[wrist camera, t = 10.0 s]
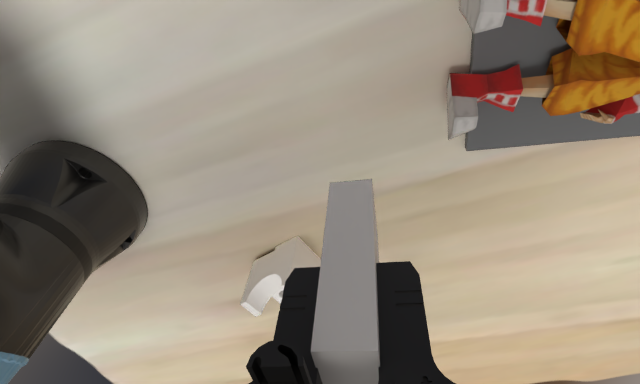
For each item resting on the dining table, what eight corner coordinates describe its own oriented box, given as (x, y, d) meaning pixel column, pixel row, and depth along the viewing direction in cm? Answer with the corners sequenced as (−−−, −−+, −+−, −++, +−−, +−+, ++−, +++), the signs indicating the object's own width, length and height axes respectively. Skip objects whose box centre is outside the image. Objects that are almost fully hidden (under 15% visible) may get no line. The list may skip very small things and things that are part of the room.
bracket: (255, 255, 49) (240, 304, 43) (297, 234, 46) (288, 283, 40) (316, 310, 55) (310, 360, 49) (357, 294, 52) (357, 345, 46)
